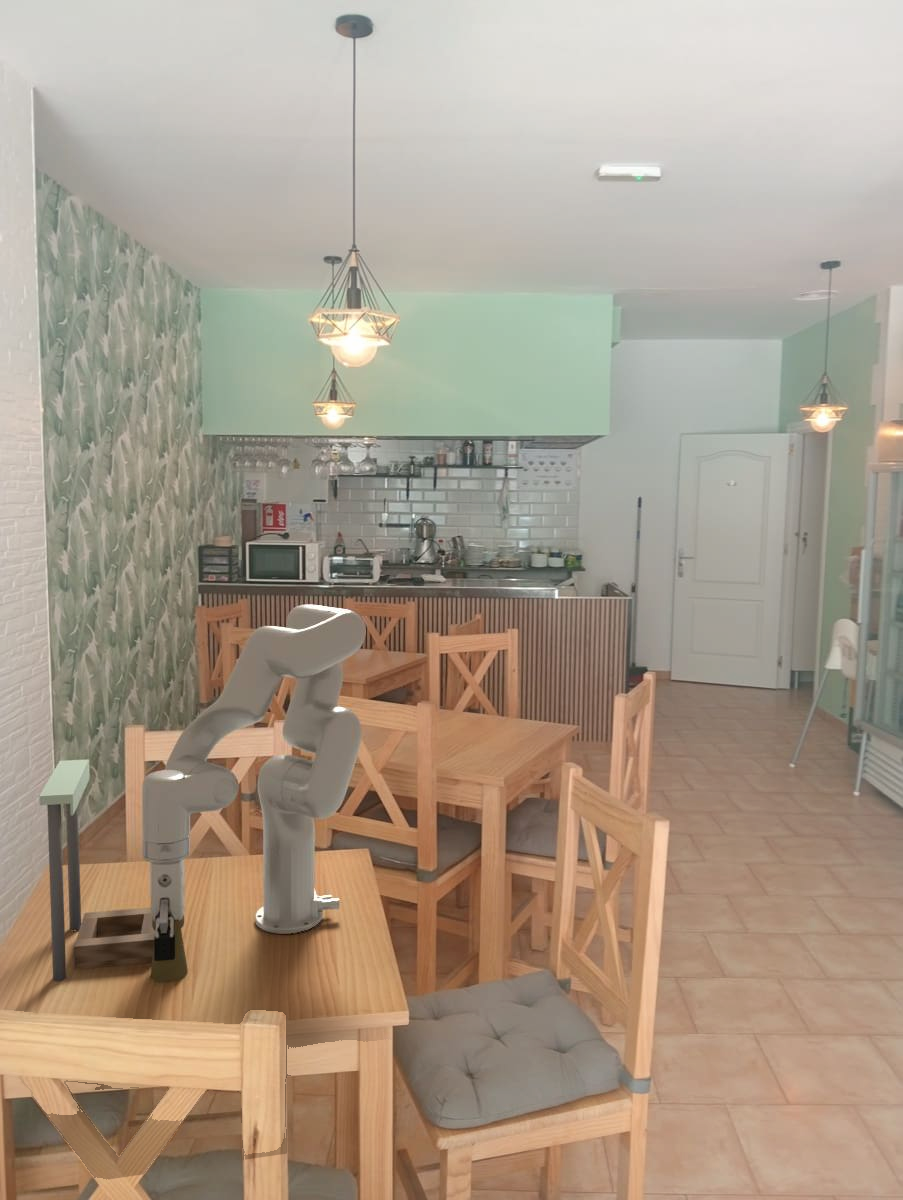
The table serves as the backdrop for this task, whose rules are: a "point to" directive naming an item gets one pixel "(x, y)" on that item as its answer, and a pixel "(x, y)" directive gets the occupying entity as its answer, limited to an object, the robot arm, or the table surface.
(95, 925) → the socket block
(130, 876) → the table surface
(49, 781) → the stand
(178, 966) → the olive pawn
